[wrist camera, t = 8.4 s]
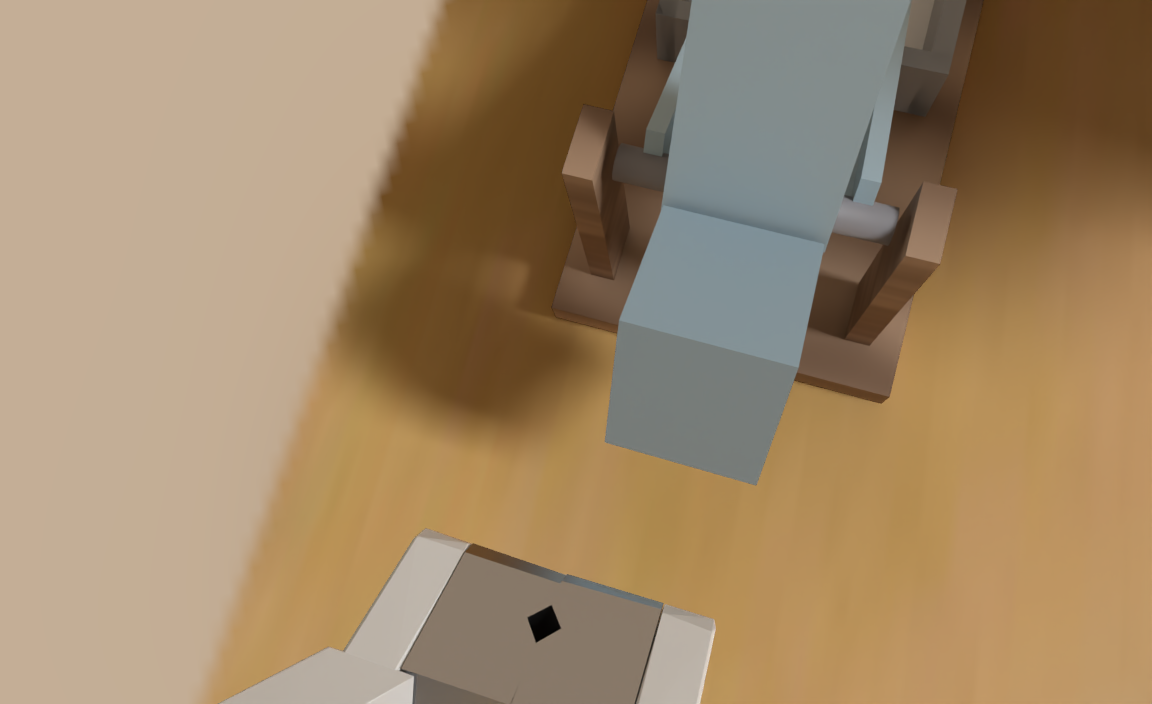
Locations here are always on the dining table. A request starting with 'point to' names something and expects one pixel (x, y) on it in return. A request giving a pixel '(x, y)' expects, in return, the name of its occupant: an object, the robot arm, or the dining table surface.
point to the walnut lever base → (849, 265)
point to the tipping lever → (749, 217)
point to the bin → (923, 54)
